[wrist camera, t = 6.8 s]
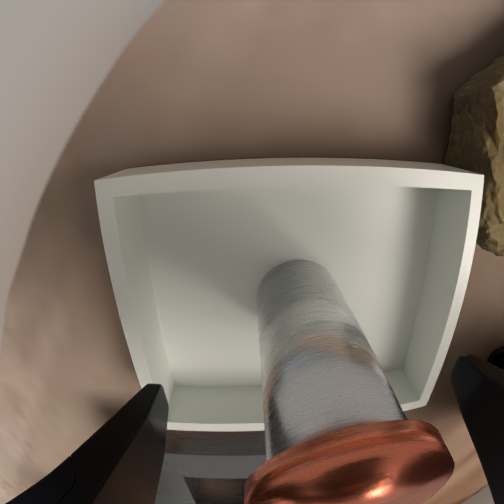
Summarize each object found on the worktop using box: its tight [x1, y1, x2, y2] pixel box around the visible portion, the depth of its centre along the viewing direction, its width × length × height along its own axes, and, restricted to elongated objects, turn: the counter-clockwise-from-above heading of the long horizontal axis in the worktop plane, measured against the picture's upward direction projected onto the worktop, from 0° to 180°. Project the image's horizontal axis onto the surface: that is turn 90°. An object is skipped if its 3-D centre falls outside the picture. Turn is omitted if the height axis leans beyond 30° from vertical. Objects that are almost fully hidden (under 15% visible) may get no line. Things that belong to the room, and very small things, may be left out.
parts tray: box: [94, 158, 484, 431], centre depth 12 cm, size 13×11×3 cm
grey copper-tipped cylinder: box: [244, 259, 454, 504], centre depth 9 cm, size 4×4×9 cm
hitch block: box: [155, 430, 266, 504], centre depth 17 cm, size 12×10×3 cm
